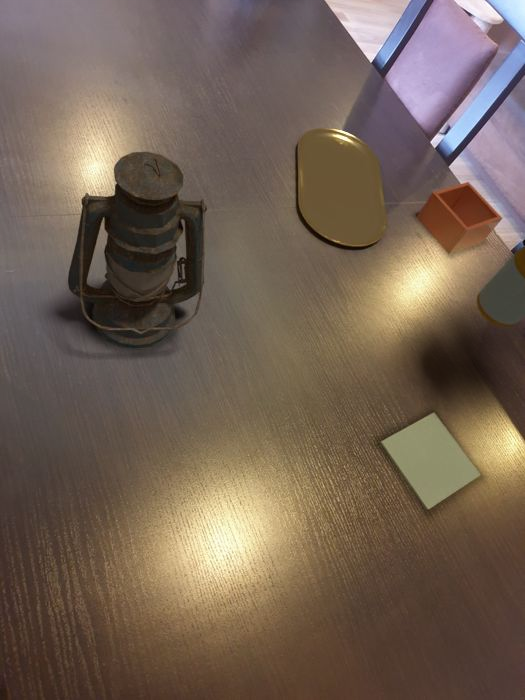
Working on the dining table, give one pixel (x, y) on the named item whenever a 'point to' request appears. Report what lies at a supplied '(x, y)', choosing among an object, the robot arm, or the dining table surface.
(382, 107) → the dining table surface
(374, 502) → the dining table surface
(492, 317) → the bottle
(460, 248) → the box
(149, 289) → the lantern
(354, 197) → the serving platter
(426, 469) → the mat
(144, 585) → the dining table surface
